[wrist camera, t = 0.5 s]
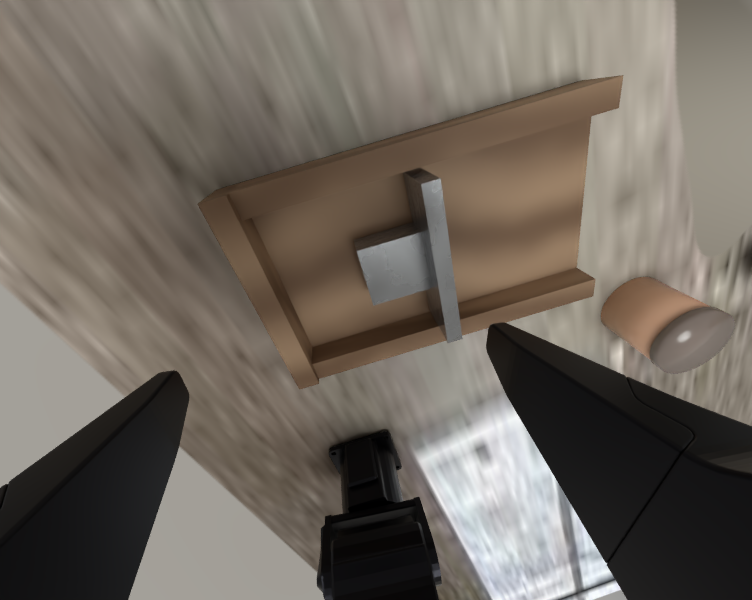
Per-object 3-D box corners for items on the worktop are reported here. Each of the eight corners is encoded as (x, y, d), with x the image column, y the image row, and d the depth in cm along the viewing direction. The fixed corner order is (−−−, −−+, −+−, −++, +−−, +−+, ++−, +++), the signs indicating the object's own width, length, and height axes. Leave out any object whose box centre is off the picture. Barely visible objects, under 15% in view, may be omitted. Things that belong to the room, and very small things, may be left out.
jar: (653, 319, 31) (720, 361, 26) (596, 337, 31) (651, 382, 26) (667, 267, 28) (746, 302, 23) (604, 286, 28) (668, 326, 23)
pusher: (442, 307, 24) (462, 338, 21) (379, 325, 24) (389, 360, 21) (418, 166, 19) (440, 178, 16) (338, 190, 19) (342, 207, 16)
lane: (566, 278, 27) (598, 299, 24) (301, 358, 26) (299, 389, 23) (582, 80, 19) (631, 74, 16) (216, 189, 19) (197, 204, 16)
